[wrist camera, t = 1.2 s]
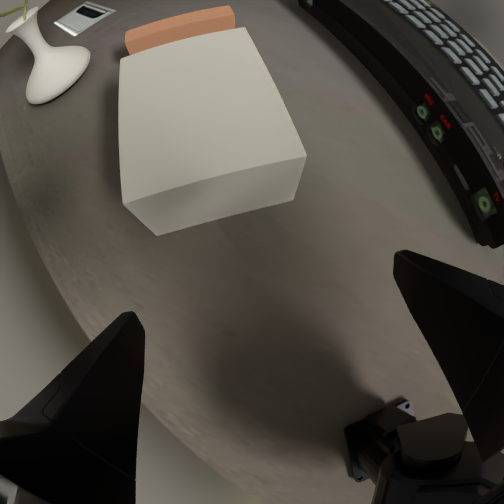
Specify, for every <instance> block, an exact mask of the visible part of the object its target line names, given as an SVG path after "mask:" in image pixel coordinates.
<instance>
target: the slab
mask: <svg viewBox="0 0 504 504" xmlns="http://www.w3.org/2000/svg"><path fill="white" fill-rule="evenodd" d="M118 120H119V159H120V176H121V190H122V201H123V205H124V206H125V207H126V208H127V209H128V210H129V211H131V212H132V213H133V214H134V215H135V216H136V217H137V218H138V219H139V220H140V221H141V222H142V223H143V224H144V225H145V226H146V227H148V228H149V229H150V230H151V231H152V232H153V233H154V234H155V235H156V236H159V235H163V234H166V233H170V232H173V231H177V230H181V229H184V228H188V227H191V226H195V225H199V224H202V223H206V222H210V221H213V220H217V219H221V218H225V217H229V216H232V215H236V214H240V213H244V212H248V211H252V210H256V209H260V208H264V207H268V206H272V205H276V204H280V203H285V202H289V201H293V200H294V196H295V193H296V190H297V187H298V184H299V181H300V177H301V174H302V171H303V168H304V165H305V161H306V158H307V155H306V152H305V150H304V147H303V145H302V143H301V140H300V138H299V136H298V133H297V131H296V129H295V127H294V124H293V122H292V120H291V118H290V115H289V113H288V111H287V109H286V107H285V105H284V103H283V100H282V98H281V96H280V94H279V92H278V90H277V88H276V86H275V84H274V82H273V80H272V78H271V76H270V74H269V72H268V70H267V68H266V66H265V64H264V62H263V60H262V58H261V56H260V54H259V52H258V51H257V49H256V47H255V45H254V43H253V41H252V39H251V38H250V36H249V34H248V32H247V30H246V29H245V27H243V28H237V29H230V30H224V31H219V32H213V33H208V34H204V35H199V36H194V37H190V38H186V39H182V40H178V41H174V42H171V43H167V44H164V45H160V46H157V47H154V48H150V49H147V50H144V51H141V52H138V53H135V54H132V55H130V56H127V57H124V58H122V59H121V60H120V76H119V114H118Z"/></svg>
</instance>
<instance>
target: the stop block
mask: <svg viewBox="0 0 504 504" xmlns="http://www.w3.org/2000/svg"><path fill="white" fill-rule="evenodd" d="M230 29H235V15H234V13H233V11H232V10H231V8H230V6H222V7H216V8H211V9H205V10H200V11H196V12H191V13H187V14H182V15H178V16H174V17H171V18H167V19H163V20H160V21H156V22H153V23H150V24H147V25H144V26H140V27H137V28H135V29H132V30H129V31H126V35H125V44H126V47H127V49H128V52H129V54H130V55H132V54H135V53H138V52H141V51H144V50H147V49H150V48H154V47H157V46H160V45H164V44H167V43H171V42H174V41H178V40H182V39H186V38H190V37H194V36H199V35H204V34H208V33H213V32H219V31H224V30H230Z"/></svg>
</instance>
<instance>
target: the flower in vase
mask: <svg viewBox="0 0 504 504" xmlns="http://www.w3.org/2000/svg"><path fill="white" fill-rule="evenodd" d="M27 3H28V0H26V1H25V7H24V14H23V15H22V16H21V17H19V18H18V19H17V20H15V21H14V23H12V24H11V25H10V26H9V28H8V29H7V30H6V33H11V34H14V35H17V36H18V37H20V38H21V39H22V40H23V41H24V42H25V43H26V44H27V45H28V47H29V48H30V49H31V51H32V53H33V55H34V57H35V63H34V66H33V69H32V72H31V74H30V77H29V80H28V83H27V88H26V97H27V100H28V102H29V103H31V104H42V103H45V102H48V101H50V100H52V99H54V98H56V97H57V96H59V95H60V94H62V93H63V92H64V91H66V90H67V89H68V88H69V87H70V86H72V85H73V84H74V83H75V82H76V81H77V80H78V79H79V78H80V76H81V75H82V74H83V73H84V71H85V70H86V68H87V66H88V64H89V61H90V52H89V50H87V49H86V48H84V47H81V46H65V47H51V46H49V45H48V44H47V43H46V41H45V40H44V39H43V37H42V35H41V33H40V30H39V28H38V24H37V11H38V7H35V8H32V9H31V10H29V11H27V12H26V8H27ZM21 9H23V7H16V8H13V9H11V10H9V11H7V12H5V13H2V14H0V17H4V16H7V15H9V14H12V13H13V12H16V11H18V10H21Z"/></svg>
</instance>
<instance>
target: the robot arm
mask: <svg viewBox="0 0 504 504" xmlns="http://www.w3.org/2000/svg"><path fill="white" fill-rule="evenodd" d="M393 276H394V279H395V281H396V283H397V285H398V287H399V290H400V292H401V294H402V296H403V298H404V300H405V302H406V304H407V307H408V309H409V311H410V313H411V315H412V316H413V318H414V320H415V322H416V323H417V325H418V327H419V329H420V330H421V332H422V334H423V336H424V337H425V339H426V341H427V343H428V344H429V346H430V348H431V350H432V352H433V354H434V356H435V357H436V359H437V361H438V363H439V365H440V367H441V369H442V371H443V373H444V375H445V377H446V379H447V381H448V383H449V385H450V387H451V389H452V391H453V393H454V395H455V397H456V399H457V402H458V404H459V406H460V408H461V410H462V411H463V412H462V413H463V415H460V414H453V413H446V414H442V415H439V416H435V417H431V418H428V419H424V420H420V421H417V420H416V417H414V412H413V406H412V402H411V401H409V400H405V401H403V402H401V403H399V404H397V405H394V406H393V405H390V406H388V407H386V408H384V409H382V410H379V411H377V412H375V413H373V414H370V415H368V416H367V417H366V418H365V419H363V420H361V421H358V422H356V423H353V424H350V425H348V426H346V427H345V429H344V435H345V439H346V444H347V448H348V453H349V458H350V462H351V467H352V472H353V477H354V480H355V481H356V482H361V481H364V480H366V479H369V478H370V479H371V480H372V482H373V483H374V484H375V485H376V487H375V492H374V496H373V499H372V503H371V504H504V454H503V453H501V452H500V451H501V450H503V449H504V285H501V284H499V283H496V282H494V281H491V280H487V279H486V278H483V277H481V276H478V275H475V274H473V273H470V272H468V271H465V270H462V269H460V268H457V267H454V266H451V265H449V264H446V263H443V262H440V261H438V260H435V259H432V258H429V257H426V256H423V255H421V254H418V253H415V252H412V251H409V250H401V251H398V252H396V253H395V255H394V267H393ZM144 357H145V330H144V328H143V326H142V324H141V322H140V321H139V319H138V317H137V315H136V314H135V313H134V312H133V311H129V312H124V313H122V314H121V315H120V316H118V317H117V318H116V319H115V320H114V321H113V322H112V323H111V324H110V325H109V326H108V327H107V328H106V329H105V330H104V331H102V332H101V333H100V334H99V335H98V336H97V337H96V338H95V339H94V340H93V341H92V342H91V343H90V344H89V345H88V346H87V347H86V348H85V349H84V350H83V351H82V352H81V353H80V354H79V355H78V356H76V357H75V358H74V360H72V361H71V362H70V363H69V364H68V365H67V366H66V367H65V368H64V369H63V370H62V372H61V374H58V375H57V376H56V377H55V378H54V379H53V380H52V381H51V382H50V383H49V384H48V385H47V386H46V387H45V388H44V389H43V390H42V391H41V392H40V393H39V394H38V395H37V396H35V397H34V398H33V399H32V400H31V401H30V402H29V403H28V404H26V405H25V406H24V407H23V408H22V409H21V410H20V411H19V412H18V413H16V414H15V415H14V416H13V417H11V418H9V419H7V420H4V421H0V504H135V502H136V498H135V496H136V492H135V491H136V481H135V479H136V455H137V438H138V425H139V414H140V404H141V394H142V385H143V377H144ZM406 404H408V406H407V407H406V408H405V406H406ZM468 427H469V429H470V432H471V434H472V437H473V439H474V442H468V441H465V440H466V436H467V431H468ZM350 429H352V431H351V432H350V433H348V431H349V430H350ZM359 476H361V477H360V478H358V477H359Z"/></svg>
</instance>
